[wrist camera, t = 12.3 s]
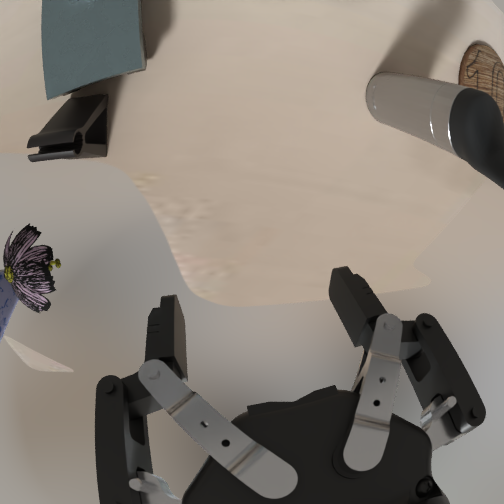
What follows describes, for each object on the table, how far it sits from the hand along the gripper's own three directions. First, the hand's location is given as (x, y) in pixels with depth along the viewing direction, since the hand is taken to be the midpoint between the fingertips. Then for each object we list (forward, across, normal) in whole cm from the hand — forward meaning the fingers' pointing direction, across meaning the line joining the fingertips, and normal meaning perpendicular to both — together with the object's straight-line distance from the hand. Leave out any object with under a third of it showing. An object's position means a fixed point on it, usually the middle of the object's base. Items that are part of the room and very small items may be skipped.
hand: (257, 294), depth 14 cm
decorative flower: (+28, +34, +10) cm, 45 cm away
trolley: (+28, +13, -23) cm, 38 cm away
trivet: (+29, -60, -15) cm, 68 cm away
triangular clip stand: (+28, +18, -7) cm, 34 cm away
